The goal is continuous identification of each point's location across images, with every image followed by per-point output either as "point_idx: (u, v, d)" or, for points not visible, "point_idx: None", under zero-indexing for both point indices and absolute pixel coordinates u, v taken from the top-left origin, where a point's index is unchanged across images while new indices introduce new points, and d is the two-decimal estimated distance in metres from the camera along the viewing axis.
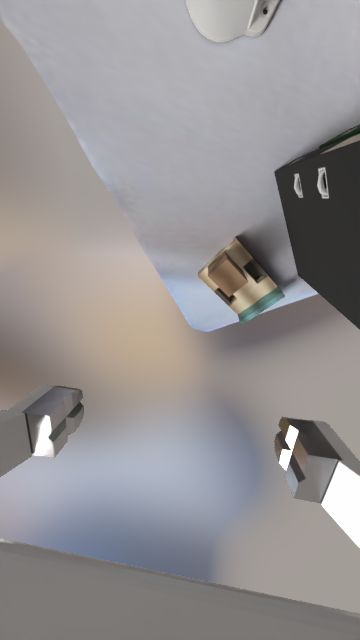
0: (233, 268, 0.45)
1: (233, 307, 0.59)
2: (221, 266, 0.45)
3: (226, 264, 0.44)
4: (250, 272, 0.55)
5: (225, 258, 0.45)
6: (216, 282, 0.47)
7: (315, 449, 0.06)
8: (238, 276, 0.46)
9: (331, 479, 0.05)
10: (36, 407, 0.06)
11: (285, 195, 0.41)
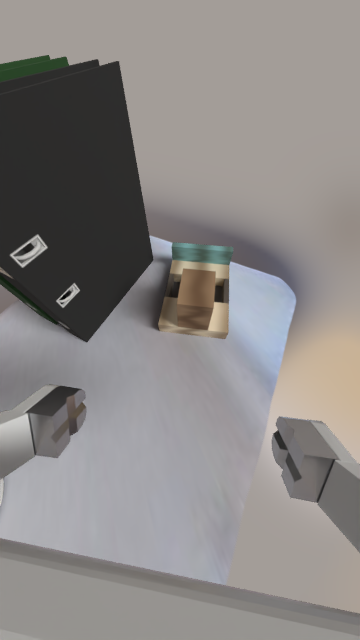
0: (181, 290, 0.32)
1: (226, 274, 0.44)
2: (189, 303, 0.30)
3: (183, 299, 0.31)
4: None
5: (178, 308, 0.31)
6: (211, 294, 0.31)
7: (311, 448, 0.06)
8: (186, 280, 0.33)
9: (327, 479, 0.06)
10: (38, 408, 0.06)
11: (95, 313, 0.38)
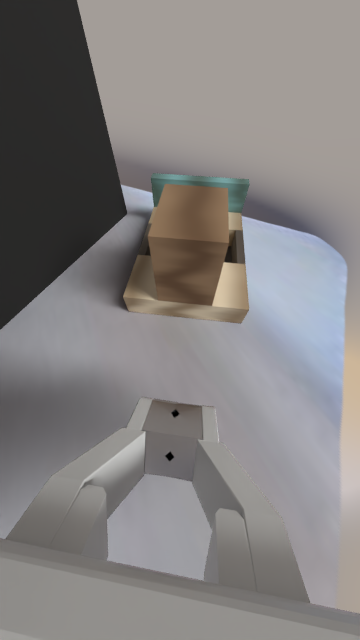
0: (159, 214, 0.15)
1: (237, 224, 0.28)
2: (175, 235, 0.14)
3: (162, 228, 0.14)
4: None
5: (153, 250, 0.15)
6: (223, 220, 0.15)
7: (182, 429, 0.06)
8: (170, 199, 0.16)
9: (195, 458, 0.06)
10: (152, 425, 0.06)
11: (9, 278, 0.21)
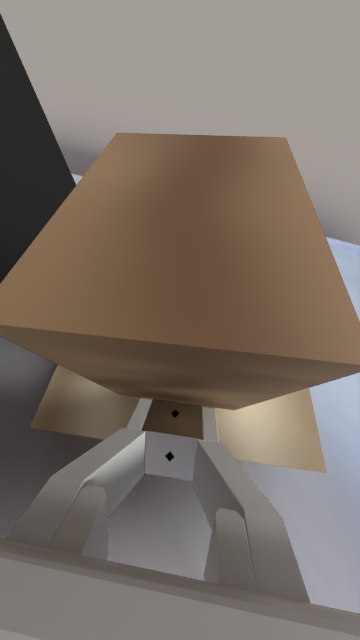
0: (67, 217, 0.04)
1: None
2: (102, 318, 0.03)
3: (55, 278, 0.03)
4: None
5: (43, 352, 0.04)
6: (304, 236, 0.04)
7: (182, 429, 0.06)
8: (119, 168, 0.05)
9: (196, 457, 0.06)
10: (152, 425, 0.06)
11: None
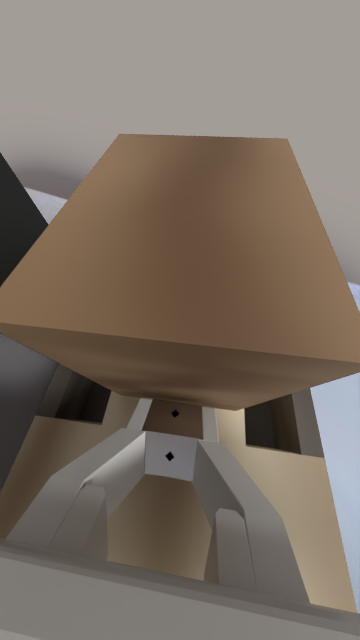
0: (70, 216, 0.04)
1: None
2: (105, 317, 0.03)
3: (58, 276, 0.03)
4: None
5: (45, 350, 0.04)
6: (306, 236, 0.04)
7: (182, 429, 0.06)
8: (122, 169, 0.05)
9: (195, 457, 0.06)
10: (151, 424, 0.06)
11: None
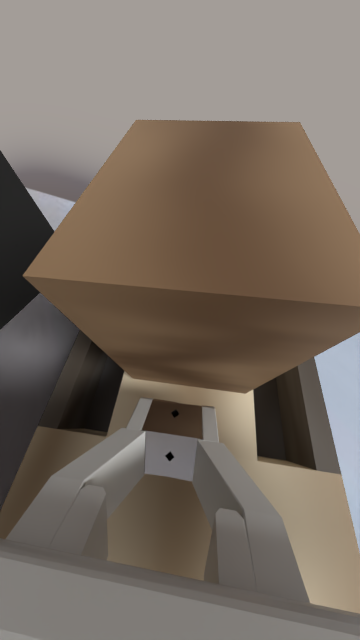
0: (98, 191, 0.05)
1: None
2: (142, 273, 0.03)
3: (94, 240, 0.04)
4: None
5: (76, 315, 0.04)
6: (324, 205, 0.04)
7: (182, 429, 0.06)
8: (142, 150, 0.06)
9: (195, 458, 0.06)
10: (152, 424, 0.06)
11: None
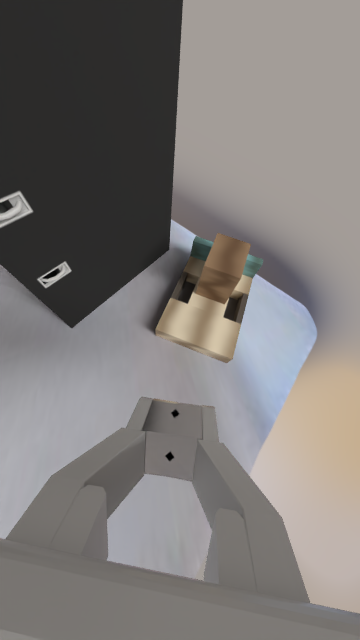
0: (211, 253, 0.30)
1: (246, 288, 0.38)
2: (217, 268, 0.29)
3: (211, 262, 0.29)
4: (190, 295, 0.39)
5: (204, 271, 0.30)
6: (241, 265, 0.30)
7: (182, 429, 0.06)
8: (218, 245, 0.31)
9: (195, 457, 0.06)
10: (152, 424, 0.06)
11: (87, 299, 0.33)
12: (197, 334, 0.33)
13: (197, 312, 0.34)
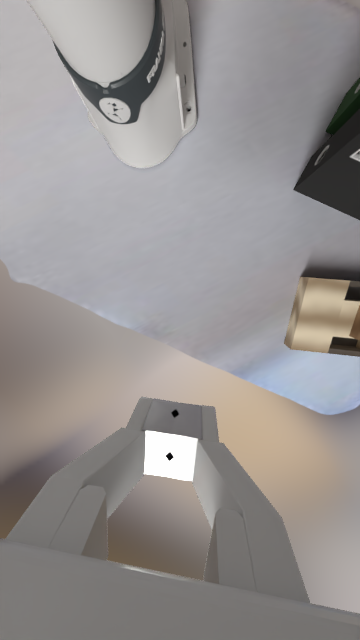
0: None
1: None
2: None
3: None
4: (355, 297, 0.36)
5: None
6: None
7: (182, 429, 0.06)
8: None
9: (195, 457, 0.06)
10: (152, 424, 0.06)
11: (335, 192, 0.29)
12: (309, 316, 0.35)
13: (334, 311, 0.35)
